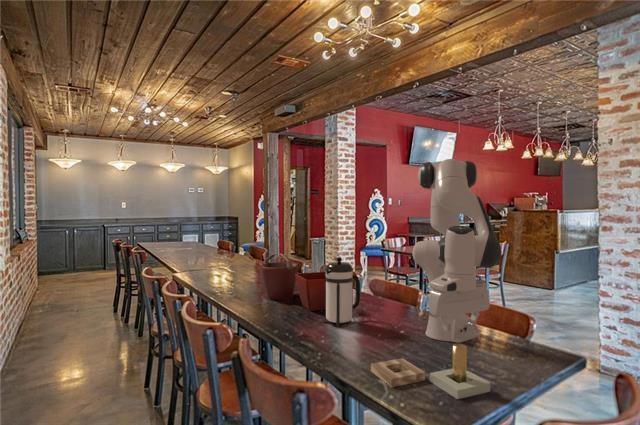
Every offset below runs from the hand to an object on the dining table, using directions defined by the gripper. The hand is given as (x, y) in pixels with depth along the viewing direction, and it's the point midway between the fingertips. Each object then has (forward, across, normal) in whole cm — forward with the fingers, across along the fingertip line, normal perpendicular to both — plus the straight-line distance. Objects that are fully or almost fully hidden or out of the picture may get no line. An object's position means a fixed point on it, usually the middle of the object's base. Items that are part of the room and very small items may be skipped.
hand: (459, 328), depth 116 cm
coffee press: (+18, +5, -71) cm, 73 cm away
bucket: (+19, +16, -130) cm, 132 cm away
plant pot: (+19, +5, -99) cm, 101 cm away
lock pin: (+17, 0, 0) cm, 17 cm away
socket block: (+17, 0, 0) cm, 17 cm away
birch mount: (+17, +14, -13) cm, 25 cm away
